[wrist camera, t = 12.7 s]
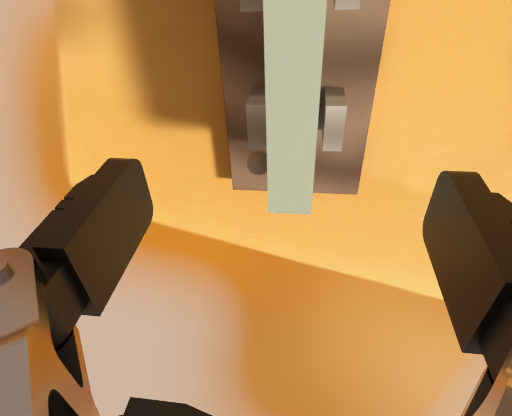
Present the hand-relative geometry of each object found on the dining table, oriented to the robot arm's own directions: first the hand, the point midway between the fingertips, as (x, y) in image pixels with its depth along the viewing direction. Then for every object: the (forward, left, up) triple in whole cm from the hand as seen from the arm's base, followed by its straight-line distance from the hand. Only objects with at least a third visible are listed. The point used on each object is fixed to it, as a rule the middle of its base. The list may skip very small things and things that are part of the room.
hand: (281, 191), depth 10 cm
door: (0, 0, -15) cm, 15 cm away
